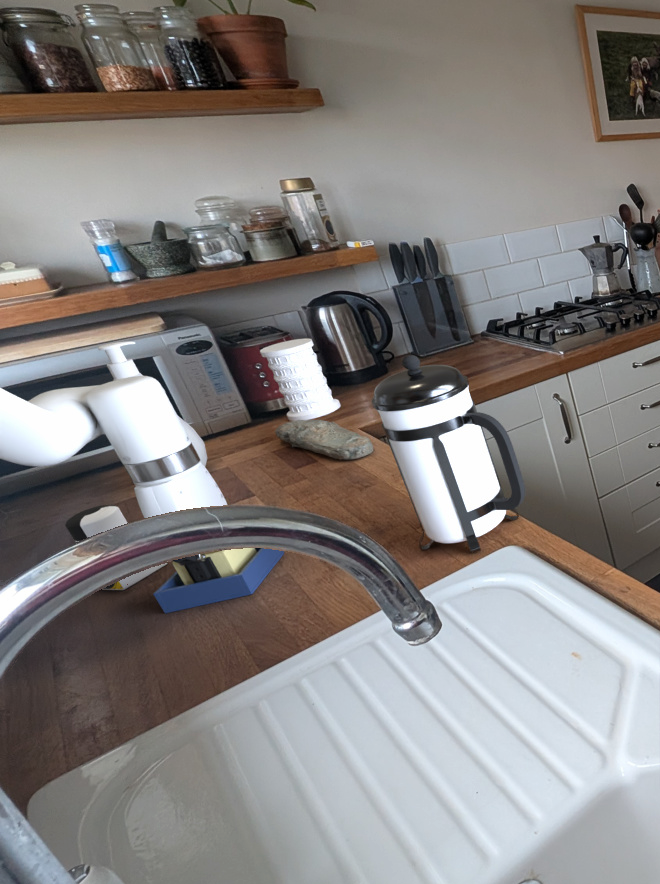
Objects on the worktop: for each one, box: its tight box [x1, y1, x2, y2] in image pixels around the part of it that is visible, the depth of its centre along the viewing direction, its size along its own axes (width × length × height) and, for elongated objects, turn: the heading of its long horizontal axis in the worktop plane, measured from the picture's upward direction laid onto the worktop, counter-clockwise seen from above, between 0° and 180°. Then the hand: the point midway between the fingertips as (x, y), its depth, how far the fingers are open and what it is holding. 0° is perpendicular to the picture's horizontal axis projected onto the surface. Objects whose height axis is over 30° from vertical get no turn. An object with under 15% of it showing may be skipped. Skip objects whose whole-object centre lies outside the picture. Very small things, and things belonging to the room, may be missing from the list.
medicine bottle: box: [64, 504, 168, 591], centre depth 105 cm, size 7×7×12 cm
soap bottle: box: [97, 340, 208, 467], centre depth 137 cm, size 17×12×29 cm
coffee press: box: [370, 354, 526, 555], centre depth 102 cm, size 17×16×30 cm
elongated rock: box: [274, 419, 374, 460], centre depth 150 cm, size 35×5×10 cm
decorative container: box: [259, 337, 342, 422], centre depth 170 cm, size 12×12×18 cm
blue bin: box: [153, 548, 285, 614], centre depth 102 cm, size 11×11×4 cm
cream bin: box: [171, 548, 257, 585], centre depth 101 cm, size 7×7×5 cm
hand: (221, 568), depth 102 cm, fingers closed on cream bin, 6 cm apart
